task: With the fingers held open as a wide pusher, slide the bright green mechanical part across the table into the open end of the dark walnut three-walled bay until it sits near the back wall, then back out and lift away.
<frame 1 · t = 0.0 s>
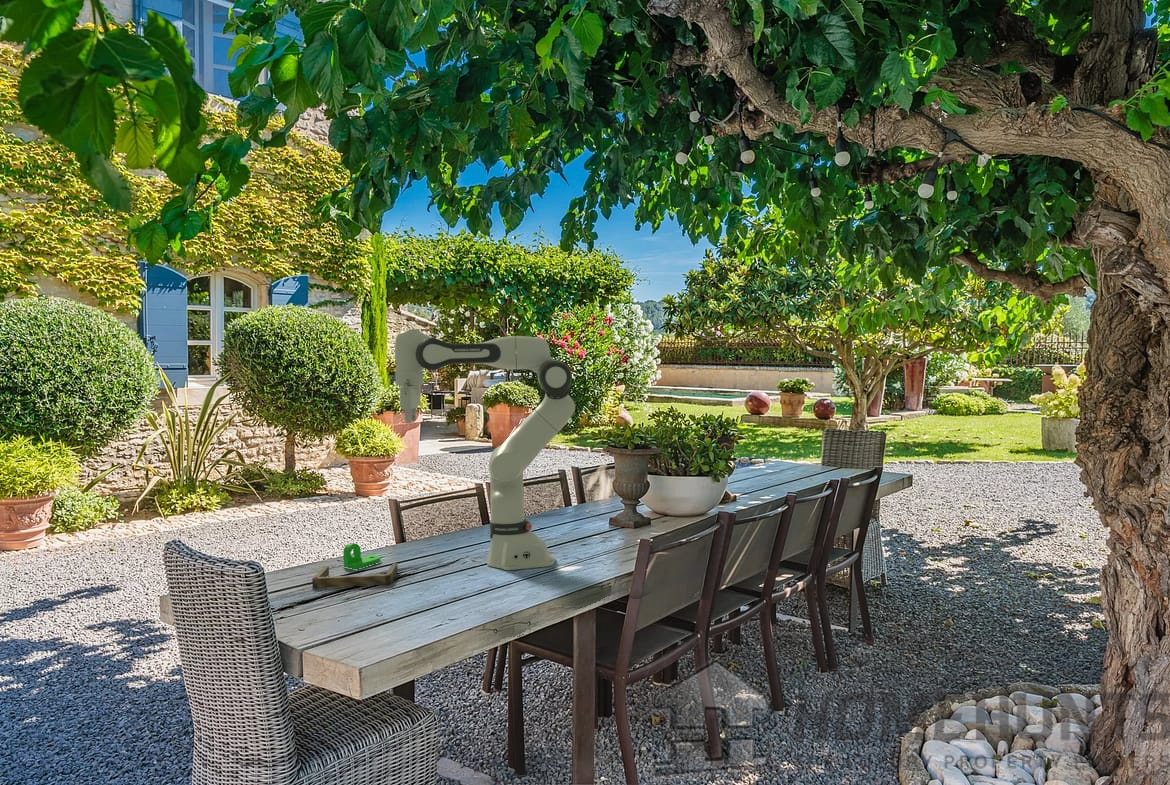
hand: (410, 421, 247), 48 cm above the table, tool pointing down, fingers open, 8 cm apart
walnut bay: (356, 579, 236), on the table
mechanical part: (364, 566, 253), on the table
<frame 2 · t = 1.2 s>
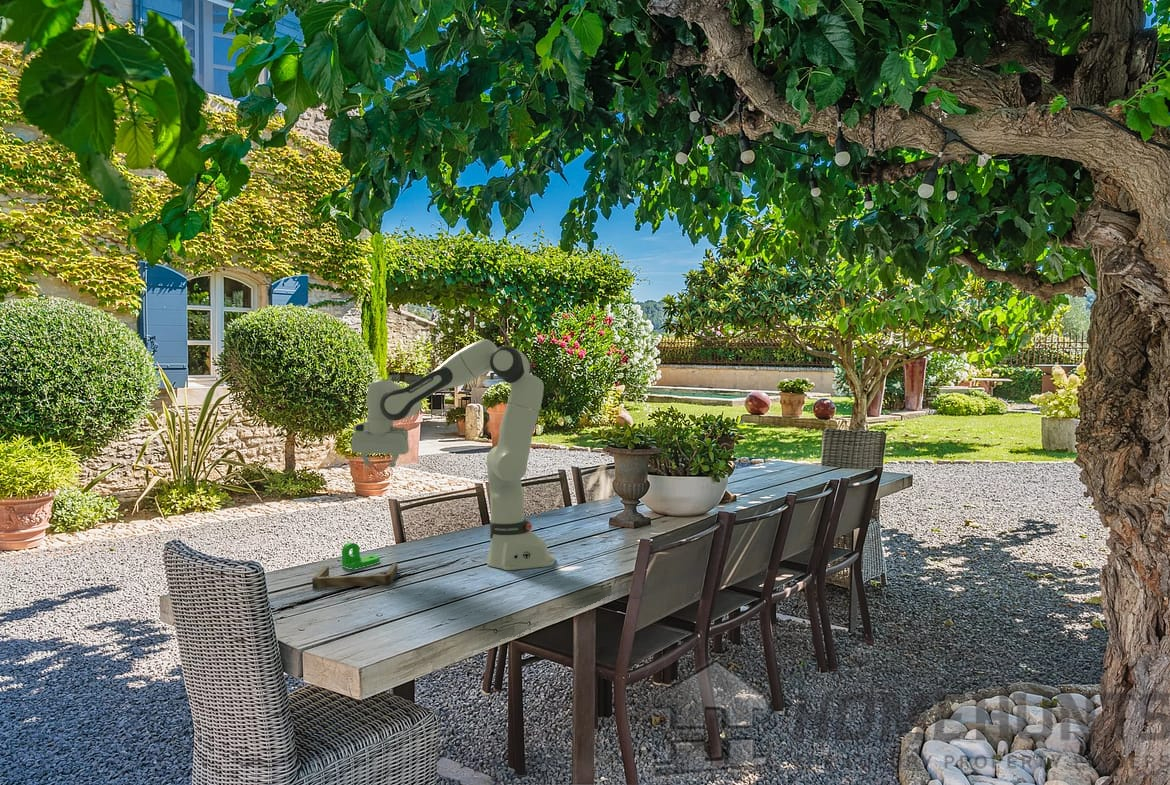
hand: (380, 466, 260), 32 cm above the table, tool pointing down, fingers open, 8 cm apart
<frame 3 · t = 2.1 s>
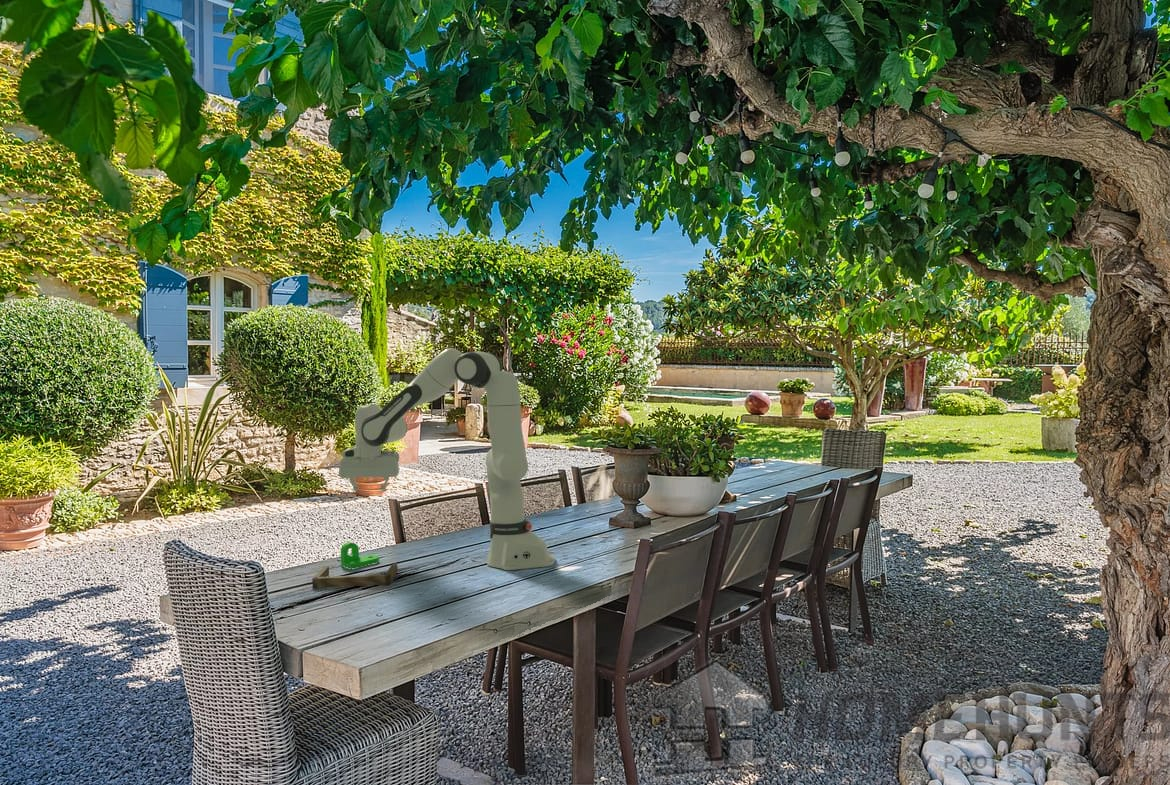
hand: (369, 490, 265), 23 cm above the table, tool pointing down, fingers open, 8 cm apart
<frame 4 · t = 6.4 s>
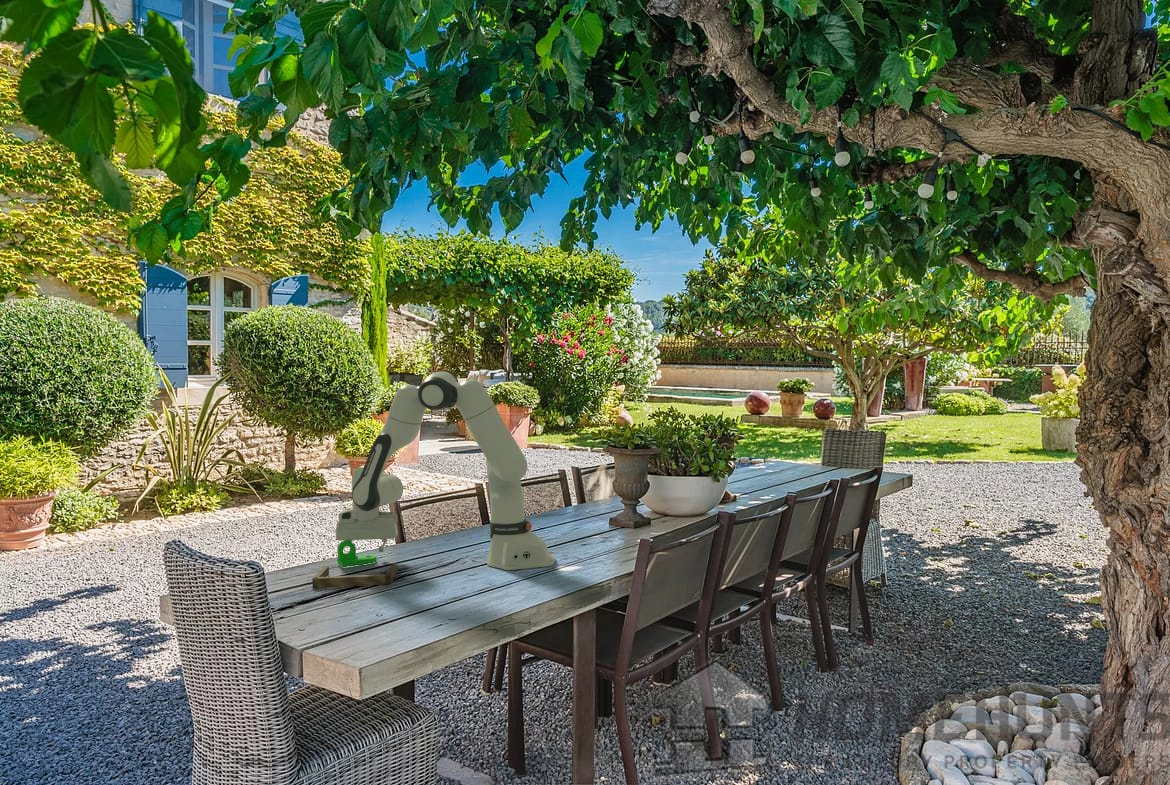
hand: (367, 552, 258), 3 cm above the table, tool pointing down, fingers open, 8 cm apart
mechanical part: (358, 564, 254), on the table, touching gripper
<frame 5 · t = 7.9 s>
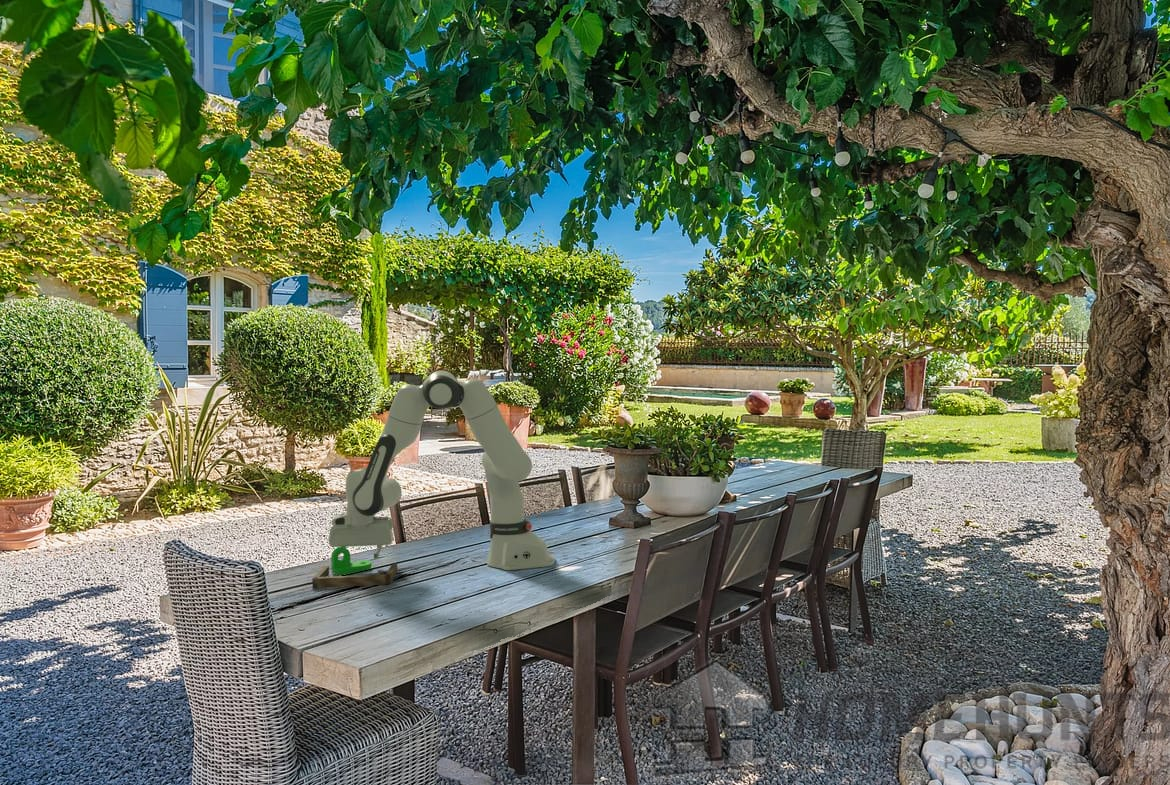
hand: (362, 558, 249), 3 cm above the table, tool pointing down, fingers open, 8 cm apart
mechanical part: (353, 571, 246), on the table, touching gripper
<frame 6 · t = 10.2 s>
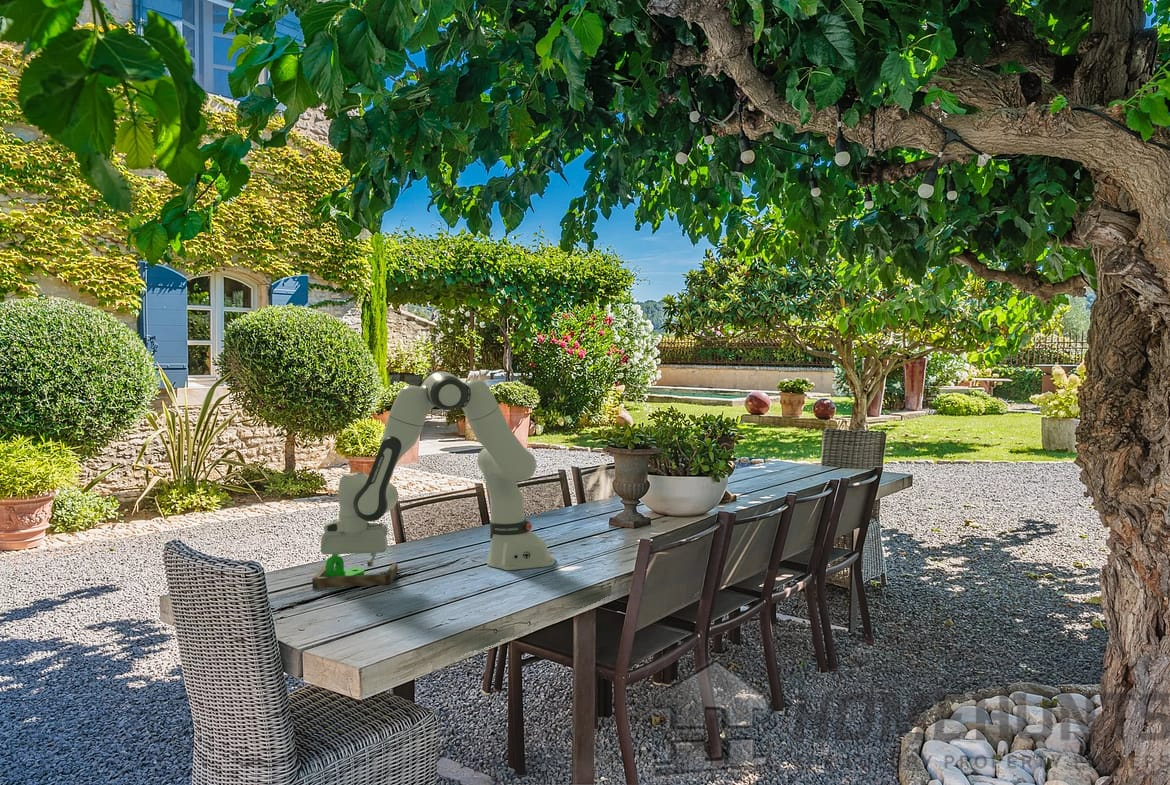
hand: (355, 567, 239), 3 cm above the table, tool pointing down, fingers open, 8 cm apart
mechanical part: (347, 580, 237), on the table
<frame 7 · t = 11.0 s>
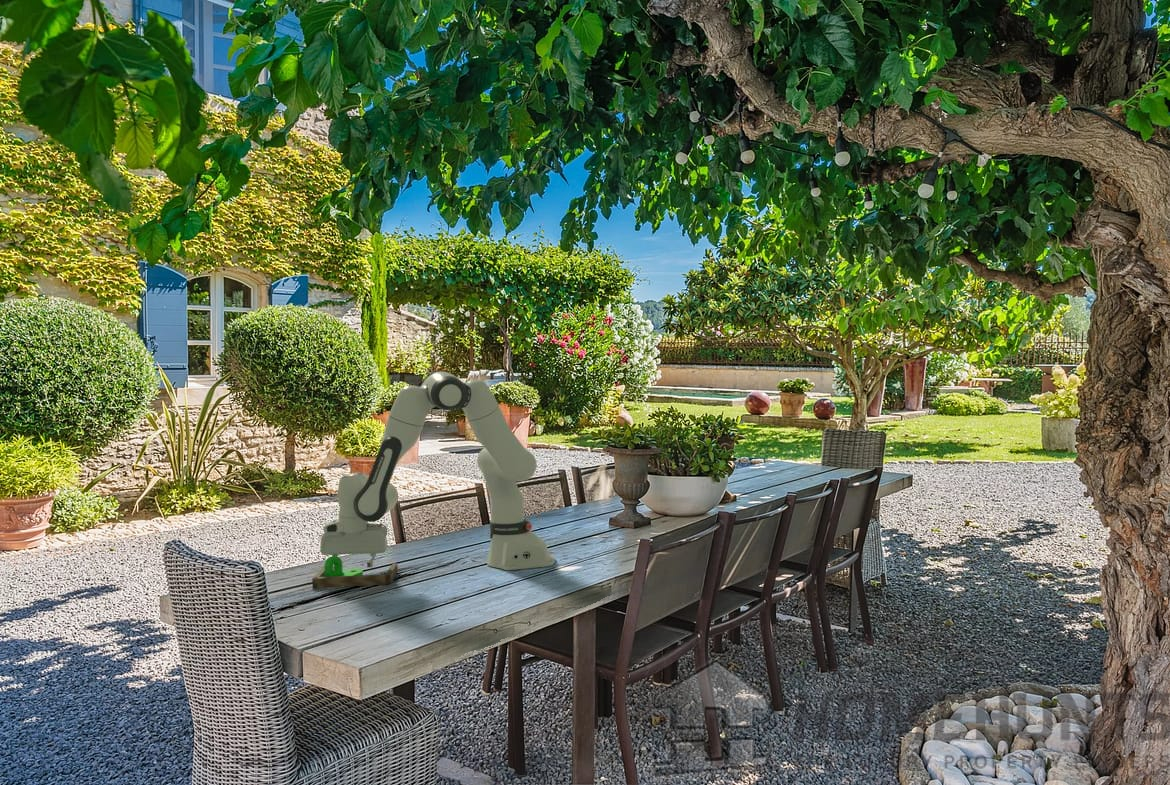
hand: (354, 567, 238), 3 cm above the table, tool pointing down, fingers open, 8 cm apart
mechanical part: (346, 580, 236), on the table, touching gripper, walnut bay
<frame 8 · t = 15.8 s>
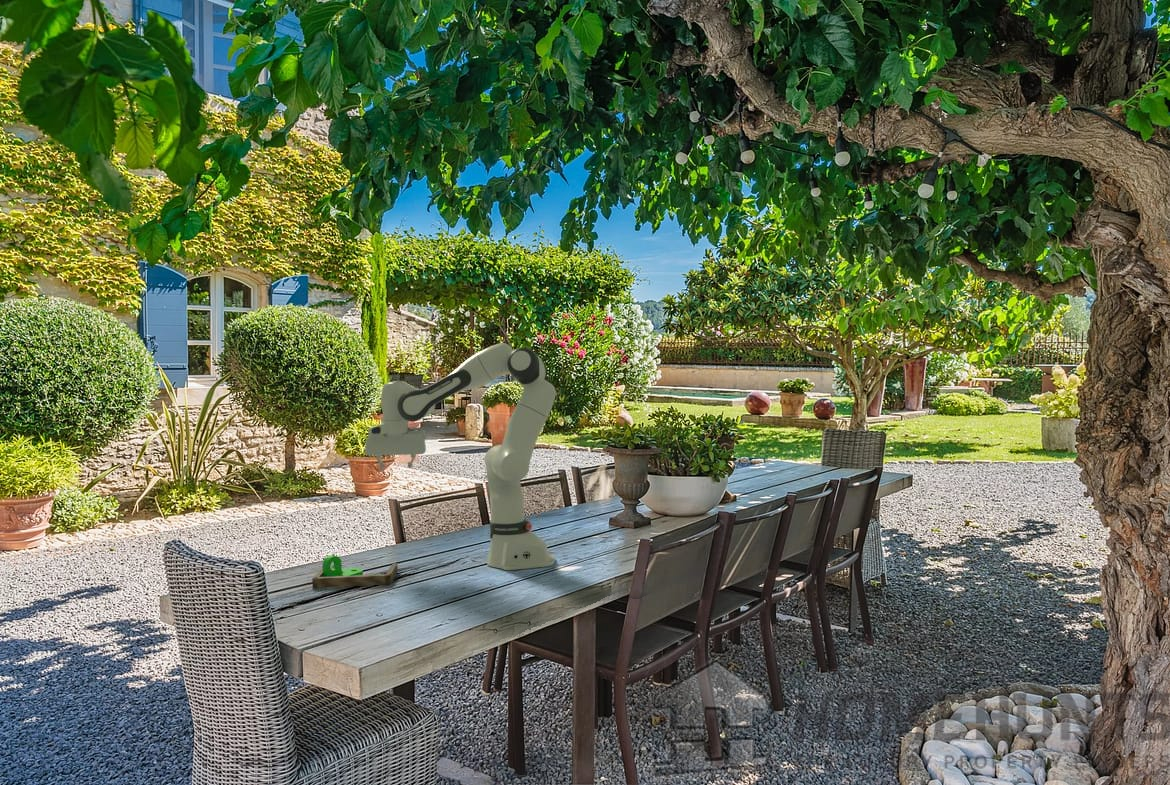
hand: (396, 467, 261), 31 cm above the table, tool pointing down, fingers open, 8 cm apart
mechanical part: (345, 580, 237), on the table
at the end: mechanical part inside the target area on the walnut bay (3.7 cm from its centre), point 0.0 cm above the walnut bay's base; mechanical part moved 15.7 cm from its start; mechanical part tilted 0° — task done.
